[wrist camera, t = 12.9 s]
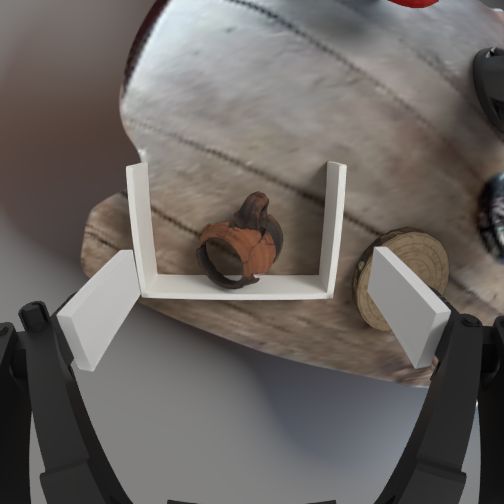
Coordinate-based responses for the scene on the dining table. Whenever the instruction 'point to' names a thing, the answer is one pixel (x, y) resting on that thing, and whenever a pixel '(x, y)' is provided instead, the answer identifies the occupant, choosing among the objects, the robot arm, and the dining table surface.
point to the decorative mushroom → (414, 3)
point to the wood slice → (413, 256)
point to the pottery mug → (245, 242)
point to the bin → (262, 290)
